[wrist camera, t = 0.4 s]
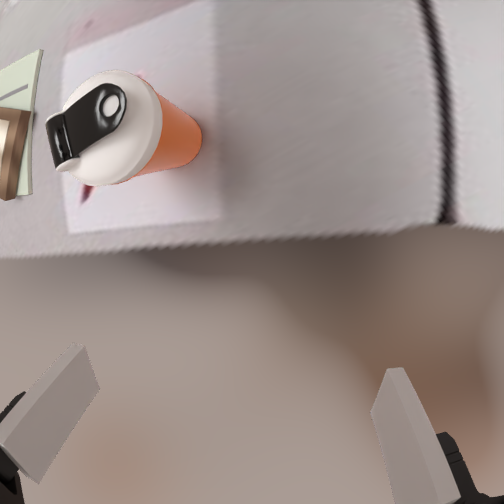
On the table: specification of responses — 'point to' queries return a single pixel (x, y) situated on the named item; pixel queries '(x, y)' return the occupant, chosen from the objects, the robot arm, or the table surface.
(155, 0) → the table surface
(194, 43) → the table surface
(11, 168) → the frame
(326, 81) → the table surface
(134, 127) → the shaker bottle
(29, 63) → the wall panel
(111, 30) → the table surface
